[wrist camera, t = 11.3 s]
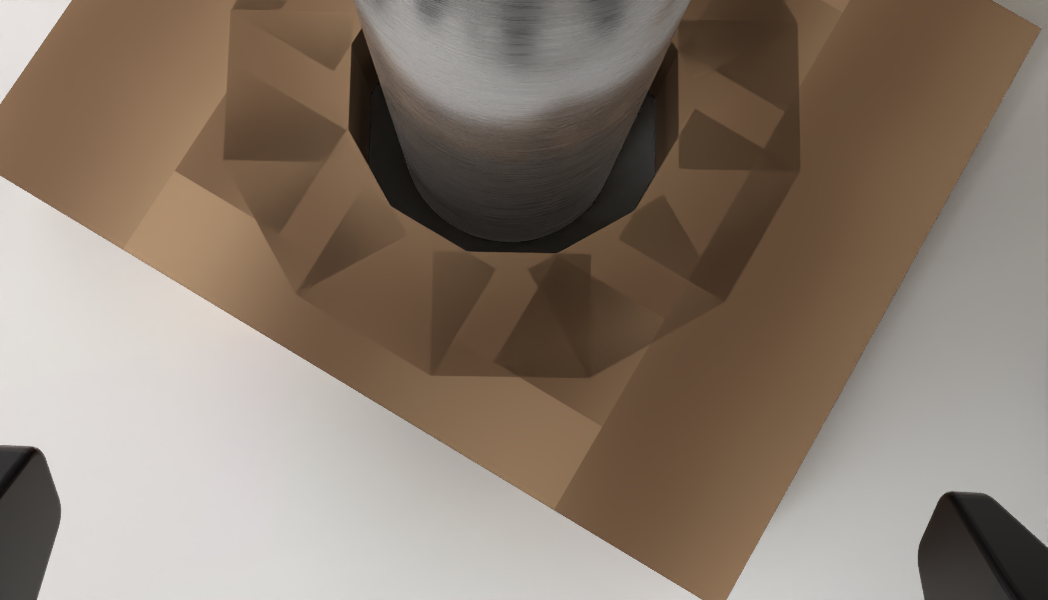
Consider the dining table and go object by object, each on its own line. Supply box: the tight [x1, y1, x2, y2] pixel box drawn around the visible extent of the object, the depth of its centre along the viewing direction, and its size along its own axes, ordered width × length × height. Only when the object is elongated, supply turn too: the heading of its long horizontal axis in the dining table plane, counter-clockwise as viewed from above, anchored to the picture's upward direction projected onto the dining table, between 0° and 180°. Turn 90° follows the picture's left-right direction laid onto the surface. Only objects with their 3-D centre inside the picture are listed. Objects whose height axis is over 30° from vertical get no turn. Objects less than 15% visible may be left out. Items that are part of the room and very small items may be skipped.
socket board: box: [0, 0, 1041, 600], centre depth 18 cm, size 14×11×2 cm
